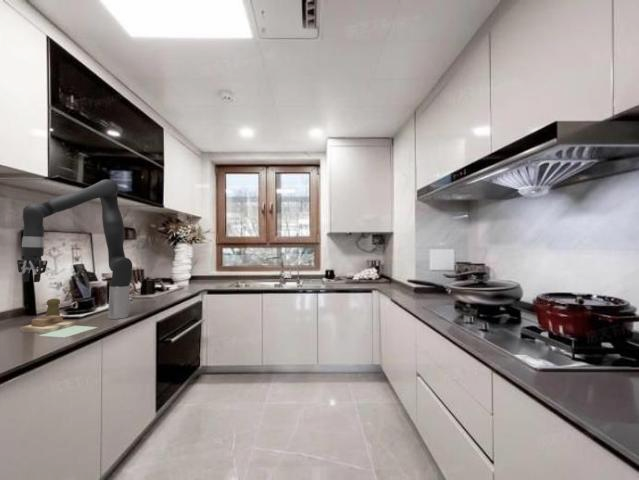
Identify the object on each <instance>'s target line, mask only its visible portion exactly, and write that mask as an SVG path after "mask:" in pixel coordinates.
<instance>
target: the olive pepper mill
mask: <svg viewBox="0 0 639 480" xmlns="http://www.w3.org/2000/svg"><path fill="white" fill-rule="evenodd" d="M60 304H61V300H60V299H59V298H51V299H47V301H46V306H47V308H46V309H47V310H46V313H45V317H46V316H51V315H57V316H61V314H60Z"/></svg>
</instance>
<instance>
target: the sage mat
mask: <svg viewBox="0 0 639 480" xmlns="http://www.w3.org/2000/svg"><path fill="white" fill-rule="evenodd" d="M98 328H99V327H98V326H86V325H85V326H84V325H76V326H71V327H68V328H64V329H60V330H57V331H53V332H50V333H41V334H39V335H38V337H42V338H56V339H66V338H69V337H73V336H77V335H79V334H83V333H87V332H89V331H92V330H95V329H98Z"/></svg>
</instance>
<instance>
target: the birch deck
mask: <svg viewBox="0 0 639 480" xmlns="http://www.w3.org/2000/svg"><path fill="white" fill-rule="evenodd" d="M71 326H77V321H70V320H63V322H61V323H57V324H53V325H49V326H45V327H34V326H31V324H29V325H24V326H20V332H23V333H33V334H34V333H35V334H46V333H50V332H53V331H57V330H60V329H64V328H68V327H71Z"/></svg>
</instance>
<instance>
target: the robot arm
mask: <svg viewBox="0 0 639 480" xmlns="http://www.w3.org/2000/svg"><path fill="white" fill-rule="evenodd" d="M118 191H119V186H118V184H117V183H116V182H115V181H114V180H111V179H102V180H100V181H98V182H96V183H94V184H92V185H90V186H88V187H85V188H82V189H79V190H76V191H75V190H74V191H72V192H68V193H65V194H61V195H58V196H55V197H52V198H50V199H47V201H45V202H41V203H38V204H37V203H36V204H35V203H30V204H27V205H25V207H24V208H23V211H22V220H23V233H22V235H23V236H22V239H21V252H20V253H21V254H20V255H21V256H22V259H17V260H16V263H17V270H18V271H17V272H18V273H21V274H22V278H21V279H22V282H23V283H25V282H26V283H27V282H29V281H30V271H31V270H32V271H33V283H40V281H41V276H42V275H41V274H43V273H46V270H47V265H48V260H43V259H42V257H43V256H44V253H45V239H44V238H45V237H44V236H45V227H44V224H43V223H44V219H45V218H48V217H51V216H52V215H54V214H57V213H61V212H63V211H67V210H70V209H73V208H75V207H77V206H79V205H82V204H85V203H88V202H90V201H93V200H96V199H99V200H100V203H101V210H102V211H101V218H102V227H103V233H104V238H105V242H106V246H107V254H108V268H109V269H110V271H111V272H112V274H111V275H112V276H111V278H110V279H111V280H110V281H109V293H108V294H109V295H108V296H109V297H108V313H107V314H108V315H107V317H108V319H109V320H117V319H124V318H128V317H129V316H131V298H130V294H131V293H130V291H131V288H130V287H131V286H130V285H131V281H132V275H133V263H132V260H131V259H130V258H128V257H126V255H125V250H124V249H125V248H124V243H125V226H124V225H125V224H124V220H123V217H122V213H121V210H120V208H119V203H118V201H119V200H118Z"/></svg>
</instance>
